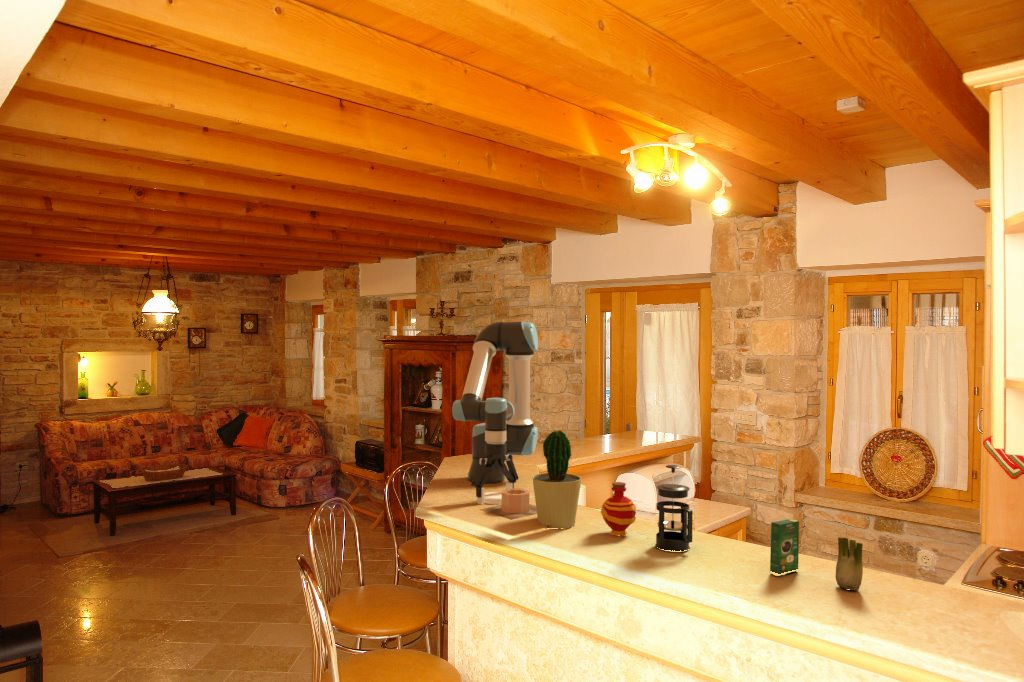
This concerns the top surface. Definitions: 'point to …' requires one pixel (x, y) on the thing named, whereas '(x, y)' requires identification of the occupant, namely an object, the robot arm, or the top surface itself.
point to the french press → (671, 538)
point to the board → (498, 511)
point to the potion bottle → (618, 510)
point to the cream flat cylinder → (493, 498)
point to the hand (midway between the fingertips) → (495, 503)
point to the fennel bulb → (849, 564)
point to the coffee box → (784, 546)
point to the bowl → (515, 500)
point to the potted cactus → (557, 484)
